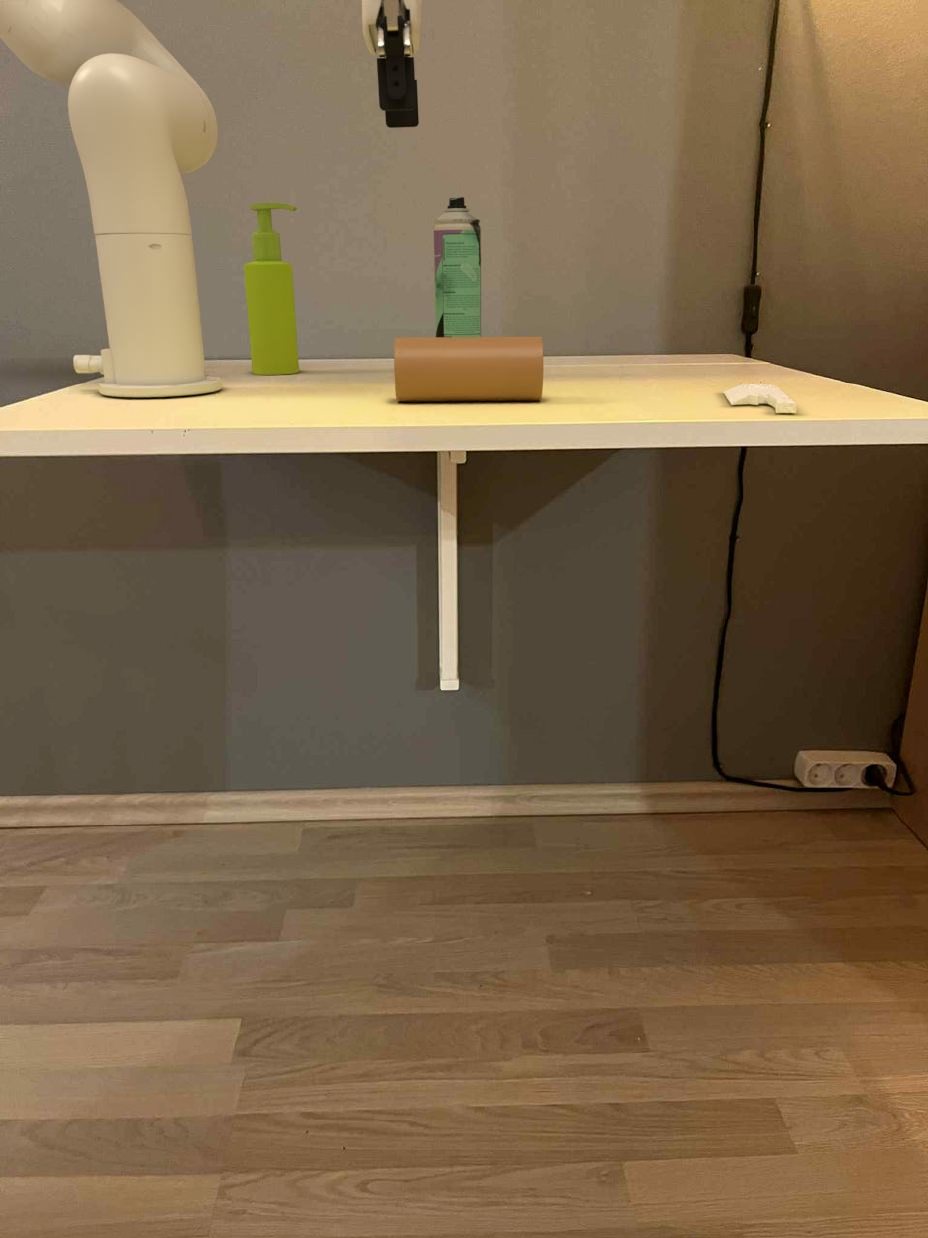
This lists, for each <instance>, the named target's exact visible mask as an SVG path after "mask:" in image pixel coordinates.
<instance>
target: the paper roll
mask: <svg viewBox="0 0 928 1238" xmlns="http://www.w3.org/2000/svg"><path fill="white" fill-rule="evenodd" d="M393 345H394V347H393V366H394V370H393V372H394V374H393V375H394V391H395V392H394V393H395V399H396V402H397V403H406V402H407V403H411V402H413V403H414V402H415V403H416V402H417V403H419V402H421V403H425V402H428V403H429V402H520V401H523V402H528V401H529V402H530V401H541V400H542V396H543V388H544V342H543V337H542V336H481V337H436V336H435V337H433V336H432V337H395V339H394V344H393Z"/></svg>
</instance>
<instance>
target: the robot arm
mask: <svg viewBox="0 0 928 1238" xmlns="http://www.w3.org/2000/svg"><path fill="white" fill-rule="evenodd" d="M422 3H423V2H422V0H361V21H362V22H361V23H362V26H361V27H362V35H363V39H364V42H365V45H366V48H367V51H368V52H369V53H370V54H371V55H372V56H377V51H378V57H377V58H376V68H377V69H376V71H377V86H378V87H377V89H378V103H379V105H378V106H379V108H380V110H381V111H383V112H384V114H385V125H386V127H387V128H390V129H395V128H396V129H397V128H416V127H418V126H419V122H420V118H419V99H418V97H419V96H418V95H419V94H418V80H417V79H416V75H415V56H414V55H415V54H416V53H418V52H419V51H420V45H421V44H420V43H421V31H422V30H421V29H422ZM0 40H2V42H3V43H4V44H5V45H6V46H7V47H8V48H9V50H10V51H11V52H12V53H13V54H14V55H15V56H16V57H17V58H18V59H19V61H20V62H21V63H22V64H23V65H24V66H26V67H27V68H28V69H29V70H30V71H31V72H33V73H34V74H36V75H37V76H40V77H42V78H44V79H46V80H49V81H51V82H54V83H57V84H59V85H63V86H66V87H69V90H68V96H67V109H68V110H67V111H68V117H69V118H68V119H69V124H70V128H71V133H72V136H73V140H74V143H75V147H76V150H77V154H78V157H79V160H80V163H81V164H80V165H81V166H82V171H83V175H84V179H85V184H86V188H87V195H88V199H89V206H90V213H91V220H92V228H93V235H94V238H95V245H96V254H97V261H98V268H99V277H100V284H101V285H100V286H101V292H102V301H103V308H104V313H105V314H104V315H105V324H106V330H107V339H108V347H109V348H104V349H101V350H100V355H93V354H75V355H74V356H73V359H72V364H73V365H72V366H73V369H74V371H75V373H76V374H95V373H100V375H103V380H102V381H101V382H99V383H98V391H99V393H100V394H101V395H104V396H107V397H116V398H164V397H183V396H193V395H194V396H195V395H201V394H202V395H203V394H208V393H213V392H217V391H220V390H221V389H222V388H223V386H222V379H221V378H220V377H218V376H214V375H213V376H212V375H207V372H206V362H205V361H206V360H205V353H204V352H205V351H204V343H203V341H204V340H203V332H202V322H201V311H200V300H199V290H198V281H197V280H198V279H197V272H196V260H195V250H194V241H193V240H194V239H193V233H192V222H191V215H190V208H189V203H188V198H187V194H186V193H187V192H186V190H185V187H184V183H183V180H182V176H181V174H188V173H192V172H195V171H197V170H199V169H200V168H202V167H204V165H206V164H207V163H208V162H209V160H210V159H211V158H212V156H213V154H214V153H215V150H216V147H217V143H218V139H219V138H218V137H219V127H218V120H217V116H216V113H215V110H214V107H213V105H212V103H211V101H210V99H209V97H208V96H207V94H206V93H205V91H204V90H203V89H202V87H201V86H200V85H199V83H197V81H196V80H195V79H194V78H193V77H192V76H191V75H190V73H189V72H188V71H187V70H186V69H185V68H184V67H183V66H182V65H181V64H180V63H179V61H178V60H177V59H176V58H175V57H174V56H173V55H172V54H171V52H169V51H168V49H166V48H165V47H164V45H163V44H162V43H161V42H160V41H159V40H158V38H156V36H155V35H154V34H153V33H152V32H151V31H150V30H149V29H148V28H147V27H146V25H145V24H144V23H143V22H142V21H141V20H140V19H139V18H138V17H137V16H136V15H135V14H134V13H132V11H130V10H129V9H128V8H127V7H126V6H125V5H123V3H121V2H119V0H0Z"/></svg>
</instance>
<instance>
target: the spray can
mask: <svg viewBox="0 0 928 1238" xmlns="http://www.w3.org/2000/svg"><path fill="white" fill-rule="evenodd" d="M448 202H449V203H448V205H447V208H445V209H444V213H442V214H441V215H440V216H439V217H438V218H437V219H434V224H435V225H434V227H433V257H434V259H433V260H434V261H433V262H434V267H433V268H434V269H433V270H434V314H435V315H434V320H435V323H434V325H435V337H482V227H481V225H480V223H481V220H480V219H478V218H477V217H476V216H475V215H473V214H472V213H471V212H470V209H469V208H467V205H465V197H464V196H461V197H460V196H459V197H450V198H449V201H448Z"/></svg>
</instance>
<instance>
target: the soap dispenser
mask: <svg viewBox="0 0 928 1238" xmlns="http://www.w3.org/2000/svg"><path fill="white" fill-rule="evenodd" d="M250 210H251V211H253V212H255V211H256V218H257V219H256V220H257V230H255V231H254V232H253V233H252V232H251V242H252V243H251V244H252V255H253V261H251V262H247V263H244V264H243V271H244V272H243V273H244V285H245V297H246V307H247V308H246V309H247V320H248V332H249V333H248V334H249V345H250V356H251V367H252V368H251V369H252V370H251V371H252V374H253V375H259V376H260V375H261V376H282V375H294V374H298V373H300V365H299V364H300V363H299V348H298V347H299V346H298V335H297V319H296V303H295V290H294V273H293V263H290V262H288V261H287V262H286V261H282V248H281V236H280V235H281V234H280V233H279V232H277V231H276V230H273V219H272V211H273V210H285V211H286V210H287V211H290V212H296V211H297V210H298V207H296V206H293V205H290V204H287V203H282V202H281V203H280V202H261V203H253V204H250Z"/></svg>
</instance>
